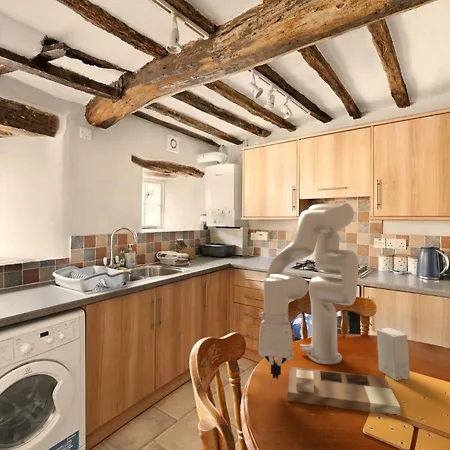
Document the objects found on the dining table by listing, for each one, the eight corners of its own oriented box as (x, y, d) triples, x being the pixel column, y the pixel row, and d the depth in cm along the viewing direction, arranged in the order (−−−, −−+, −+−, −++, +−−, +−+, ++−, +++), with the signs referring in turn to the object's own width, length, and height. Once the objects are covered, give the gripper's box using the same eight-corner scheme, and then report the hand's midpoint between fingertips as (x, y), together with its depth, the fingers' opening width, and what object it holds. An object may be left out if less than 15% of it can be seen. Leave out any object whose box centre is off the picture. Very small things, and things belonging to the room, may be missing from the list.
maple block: (296, 390, 89) (296, 377, 89) (296, 381, 94) (296, 369, 94) (313, 392, 88) (313, 379, 88) (313, 383, 93) (313, 371, 93)
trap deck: (287, 400, 89) (287, 392, 89) (290, 374, 104) (289, 366, 104) (400, 415, 81) (400, 406, 81) (384, 384, 97) (384, 377, 97)
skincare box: (410, 379, 100) (409, 334, 100) (395, 381, 98) (394, 336, 98) (391, 367, 108) (390, 326, 108) (376, 369, 107) (376, 328, 106)
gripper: (250, 319, 91) (250, 379, 91) (300, 323, 88) (300, 386, 87) (254, 312, 99) (254, 368, 99) (300, 316, 95) (300, 373, 95)
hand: (275, 376), depth 93 cm, fingers closed
